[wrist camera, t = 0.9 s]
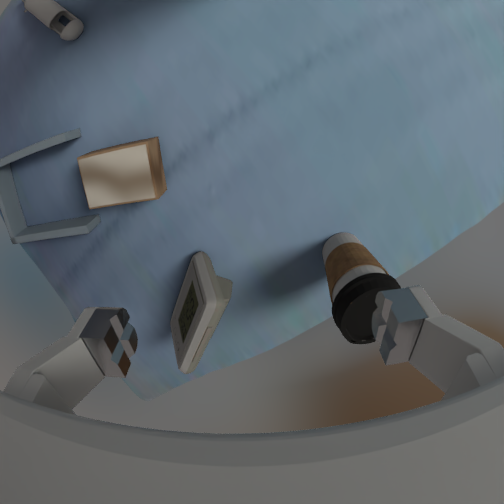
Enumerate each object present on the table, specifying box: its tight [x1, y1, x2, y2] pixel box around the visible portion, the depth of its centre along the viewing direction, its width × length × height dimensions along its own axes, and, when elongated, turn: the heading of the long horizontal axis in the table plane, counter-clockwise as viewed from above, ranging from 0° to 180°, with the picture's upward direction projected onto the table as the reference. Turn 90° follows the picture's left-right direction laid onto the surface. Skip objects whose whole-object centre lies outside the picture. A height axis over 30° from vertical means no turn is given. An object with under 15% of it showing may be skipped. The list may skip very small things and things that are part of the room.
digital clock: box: [170, 251, 233, 374], centre depth 41 cm, size 16×9×11 cm, turn 146°
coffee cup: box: [322, 233, 401, 344], centre depth 35 cm, size 8×8×15 cm
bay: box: [0, 128, 101, 244], centre depth 35 cm, size 14×18×4 cm
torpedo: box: [22, 0, 84, 41], centre depth 20 cm, size 18×5×6 cm, turn 44°
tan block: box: [77, 137, 167, 209], centre depth 33 cm, size 7×10×5 cm
